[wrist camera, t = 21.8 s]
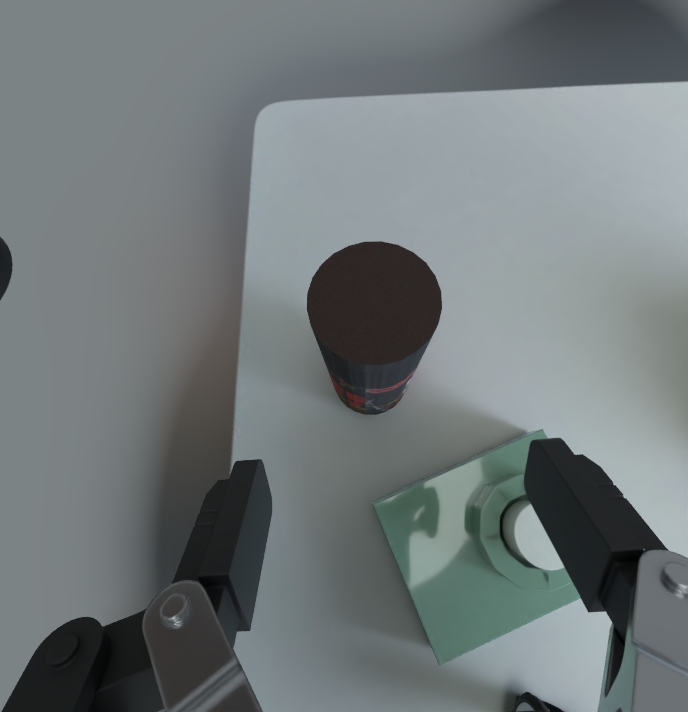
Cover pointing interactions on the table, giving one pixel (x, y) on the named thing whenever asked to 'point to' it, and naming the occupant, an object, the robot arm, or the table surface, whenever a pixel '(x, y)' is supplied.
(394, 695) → the table surface
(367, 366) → the deodorant
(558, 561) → the white cylindrical knob
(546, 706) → the smartwatch
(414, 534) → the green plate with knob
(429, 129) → the table surface
